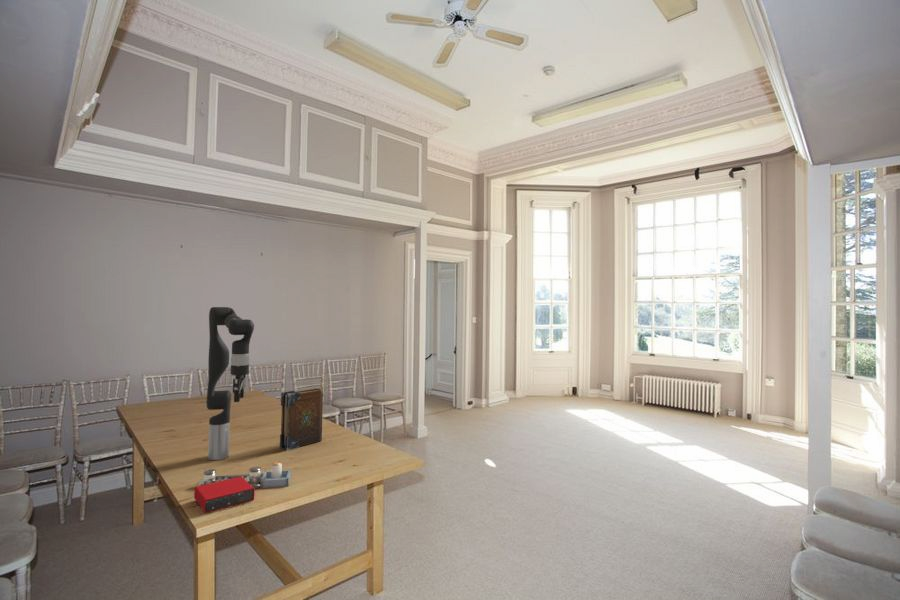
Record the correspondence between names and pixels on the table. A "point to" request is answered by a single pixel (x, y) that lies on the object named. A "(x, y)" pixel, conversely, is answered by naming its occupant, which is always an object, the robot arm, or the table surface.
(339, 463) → the table surface
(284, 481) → the tray
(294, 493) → the table surface
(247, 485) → the red device housing
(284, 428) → the decorative book
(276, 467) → the halved boiled egg
